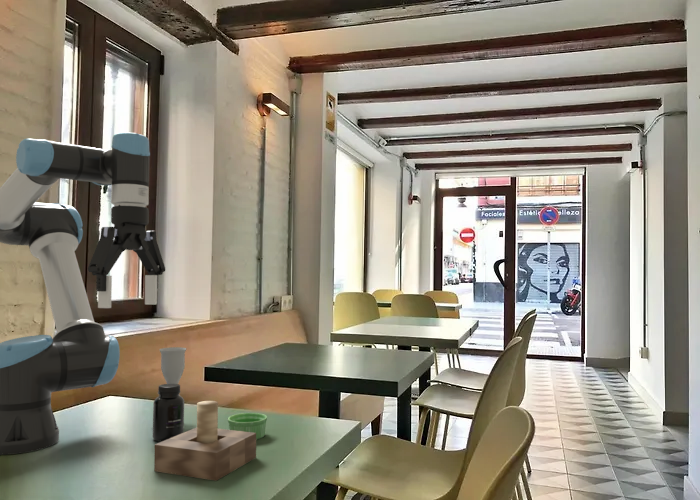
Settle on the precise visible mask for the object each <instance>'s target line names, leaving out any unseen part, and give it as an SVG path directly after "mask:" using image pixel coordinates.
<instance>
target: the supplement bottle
mask: <svg viewBox="0 0 700 500" xmlns="http://www.w3.org/2000/svg"><path fill="white" fill-rule="evenodd" d="M157 387H158V388H157V389H158V391H157V395H158V396H157V397H156V398H155V399H154V400H153V405H152V439H153V440H154V441H156V442H162V441H165V440H167V439H170V438H172V437H174V436H177V435H179V434H182V433H184V432H185V428H184V426H185V399H184V398H183V396H182V395H180V394H181V384H180V383H178V384H167V383H163V384H159V385H158V386H157Z"/></svg>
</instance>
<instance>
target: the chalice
mask: <svg viewBox="0 0 700 500" xmlns="http://www.w3.org/2000/svg"><path fill="white" fill-rule="evenodd" d="M186 352H187V348H186V347H181V346H180V347H178V346H177V347H176V346H175V347H163V348H159V353H160V354H161V355H160V358H161V359H160V369H161V373H162V375H163V378H164V381H165V382H166V384H180V383H179V382H180V380H181V378H182V376H183V373H184V370H185V359H186V358H185V355H186V354H185V353H186Z"/></svg>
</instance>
